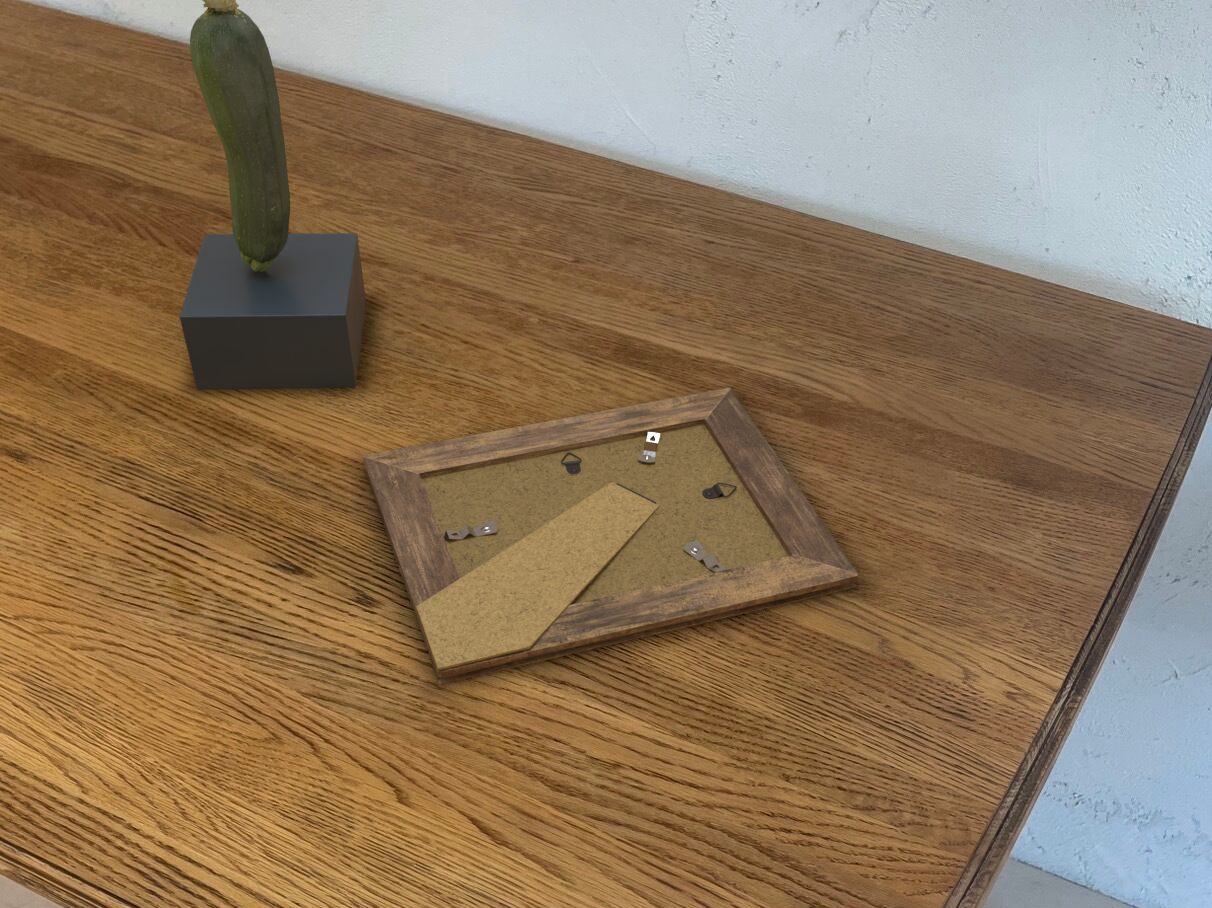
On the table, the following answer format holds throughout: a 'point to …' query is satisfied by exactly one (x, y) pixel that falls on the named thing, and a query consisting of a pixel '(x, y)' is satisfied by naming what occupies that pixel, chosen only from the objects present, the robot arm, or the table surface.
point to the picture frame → (597, 531)
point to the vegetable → (245, 126)
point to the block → (276, 315)
